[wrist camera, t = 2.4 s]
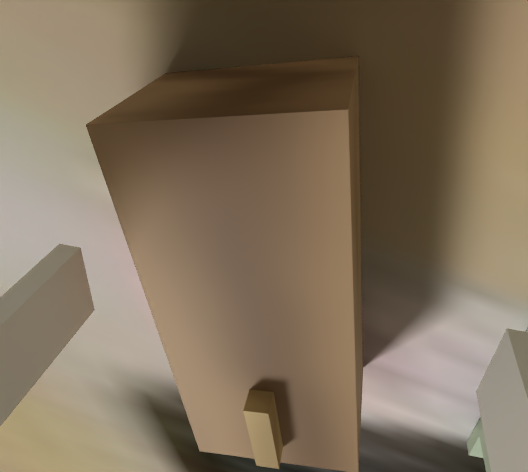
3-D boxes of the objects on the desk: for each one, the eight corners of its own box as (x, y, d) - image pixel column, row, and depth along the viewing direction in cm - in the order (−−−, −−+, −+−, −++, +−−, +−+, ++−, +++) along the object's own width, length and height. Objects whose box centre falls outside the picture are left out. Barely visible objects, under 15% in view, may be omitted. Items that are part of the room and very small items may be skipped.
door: (234, 353, 21) (192, 470, 17) (168, 71, 14) (65, 137, 10) (363, 363, 20) (357, 496, 15) (359, 54, 13) (345, 123, 8)
